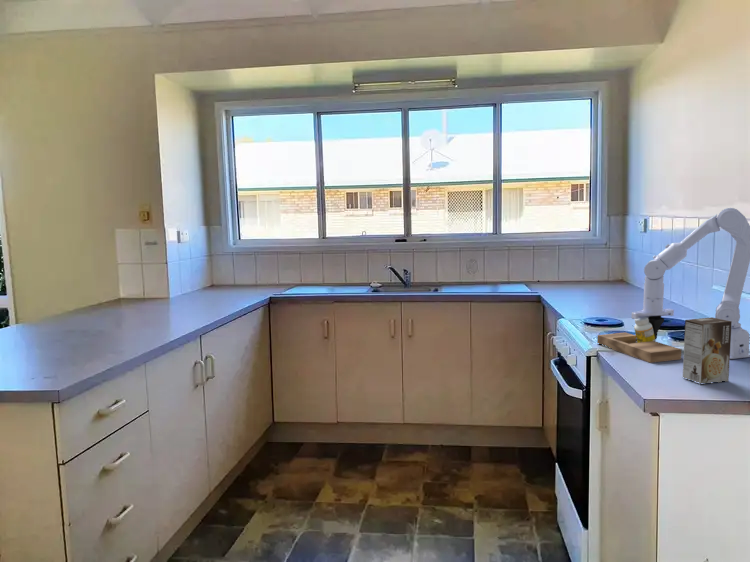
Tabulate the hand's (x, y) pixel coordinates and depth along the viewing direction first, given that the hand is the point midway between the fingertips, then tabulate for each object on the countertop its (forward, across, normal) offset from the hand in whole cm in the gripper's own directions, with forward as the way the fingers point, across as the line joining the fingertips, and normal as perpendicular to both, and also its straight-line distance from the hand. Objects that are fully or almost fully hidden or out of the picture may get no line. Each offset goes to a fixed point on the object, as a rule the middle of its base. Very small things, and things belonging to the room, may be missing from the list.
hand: (651, 339), depth 190 cm
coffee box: (+2, +12, +34) cm, 36 cm away
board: (+2, +8, +4) cm, 9 cm away
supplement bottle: (+2, +2, 0) cm, 3 cm away
